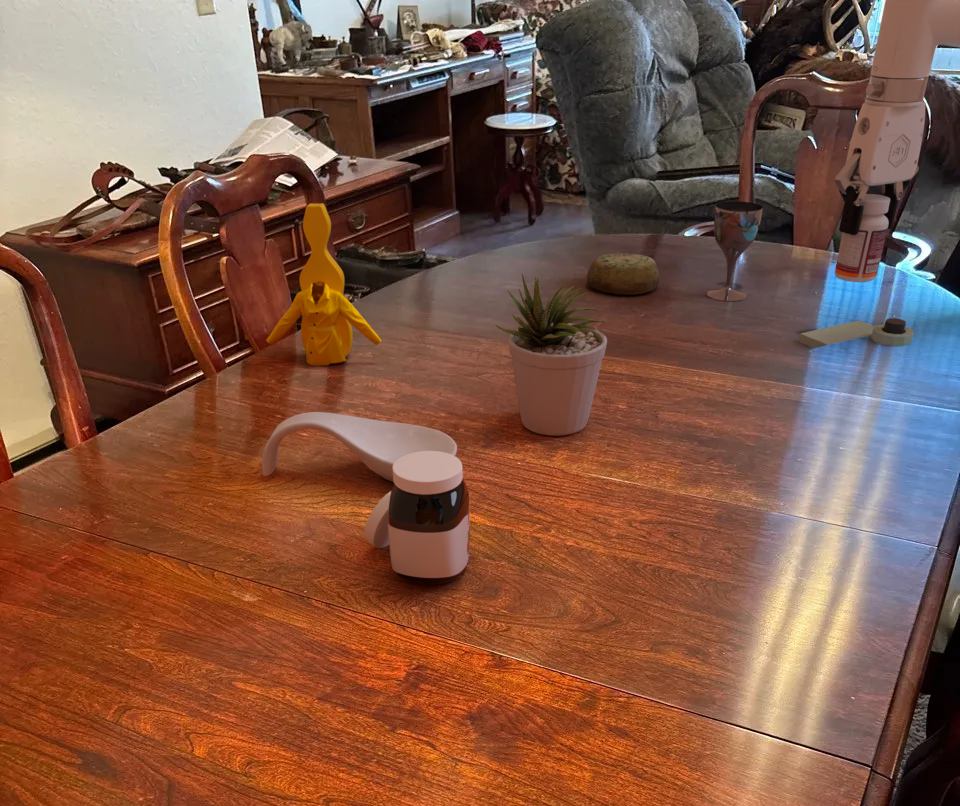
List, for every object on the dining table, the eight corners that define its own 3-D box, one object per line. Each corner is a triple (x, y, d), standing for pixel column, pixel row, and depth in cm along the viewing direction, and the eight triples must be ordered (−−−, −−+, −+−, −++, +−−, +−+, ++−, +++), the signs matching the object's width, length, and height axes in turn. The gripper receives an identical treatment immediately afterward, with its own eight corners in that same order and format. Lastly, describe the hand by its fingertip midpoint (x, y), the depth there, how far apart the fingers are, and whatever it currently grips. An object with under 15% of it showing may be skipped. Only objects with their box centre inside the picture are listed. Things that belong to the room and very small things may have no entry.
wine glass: (704, 287, 177) (715, 200, 168) (748, 289, 176) (762, 202, 167) (703, 300, 171) (715, 210, 162) (749, 302, 170) (763, 212, 161)
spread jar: (458, 597, 95) (456, 492, 88) (349, 587, 96) (338, 483, 90) (480, 537, 104) (478, 438, 97) (379, 528, 106) (371, 431, 99)
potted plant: (522, 398, 136) (525, 251, 124) (614, 414, 131) (626, 263, 119) (483, 431, 126) (482, 276, 115) (581, 450, 122) (590, 290, 110)
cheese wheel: (619, 271, 186) (621, 244, 183) (674, 286, 178) (677, 258, 175) (571, 285, 179) (573, 258, 176) (626, 301, 171) (629, 273, 168)
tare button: (892, 328, 150) (895, 316, 149) (907, 333, 148) (910, 322, 147) (878, 331, 149) (881, 320, 148) (893, 336, 147) (896, 325, 146)
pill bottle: (872, 272, 147) (891, 193, 141) (878, 284, 143) (897, 203, 136) (831, 271, 148) (847, 192, 142) (835, 282, 144) (852, 201, 137)
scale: (856, 328, 158) (861, 310, 156) (917, 351, 149) (922, 332, 148) (798, 342, 153) (801, 323, 151) (857, 366, 144) (861, 346, 143)
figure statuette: (266, 367, 146) (244, 213, 133) (277, 349, 152) (257, 201, 139) (381, 368, 145) (370, 213, 132) (387, 350, 152) (377, 201, 139)
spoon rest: (459, 452, 122) (458, 398, 117) (455, 495, 112) (454, 439, 108) (275, 451, 122) (267, 398, 118) (255, 494, 113) (246, 438, 108)
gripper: (871, 99, 125) (841, 243, 135) (961, 90, 131) (926, 228, 142) (829, 92, 130) (803, 232, 141) (917, 84, 137) (886, 217, 147)
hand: (865, 228), depth 141 cm, fingers closed on pill bottle, 6 cm apart
